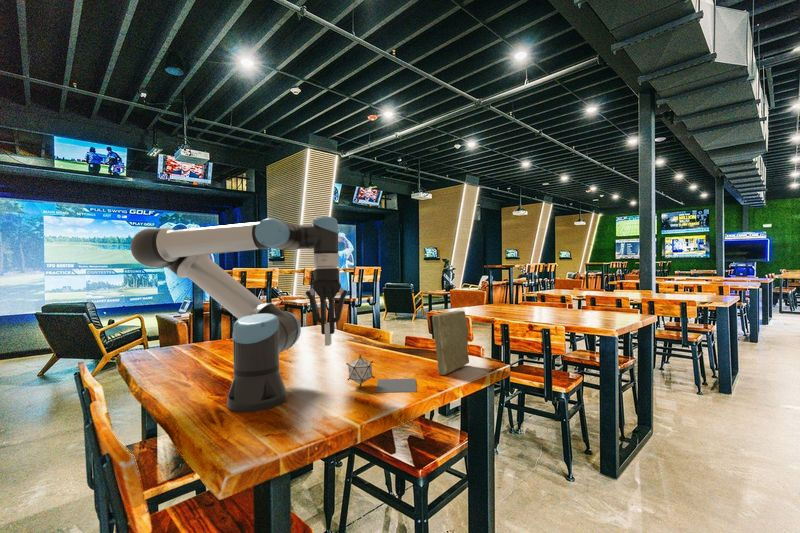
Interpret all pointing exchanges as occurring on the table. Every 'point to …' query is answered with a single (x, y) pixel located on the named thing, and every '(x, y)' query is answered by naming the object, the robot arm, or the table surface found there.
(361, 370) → the game die
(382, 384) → the mat
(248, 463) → the table surface
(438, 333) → the decorative tile
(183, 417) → the table surface
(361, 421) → the table surface
